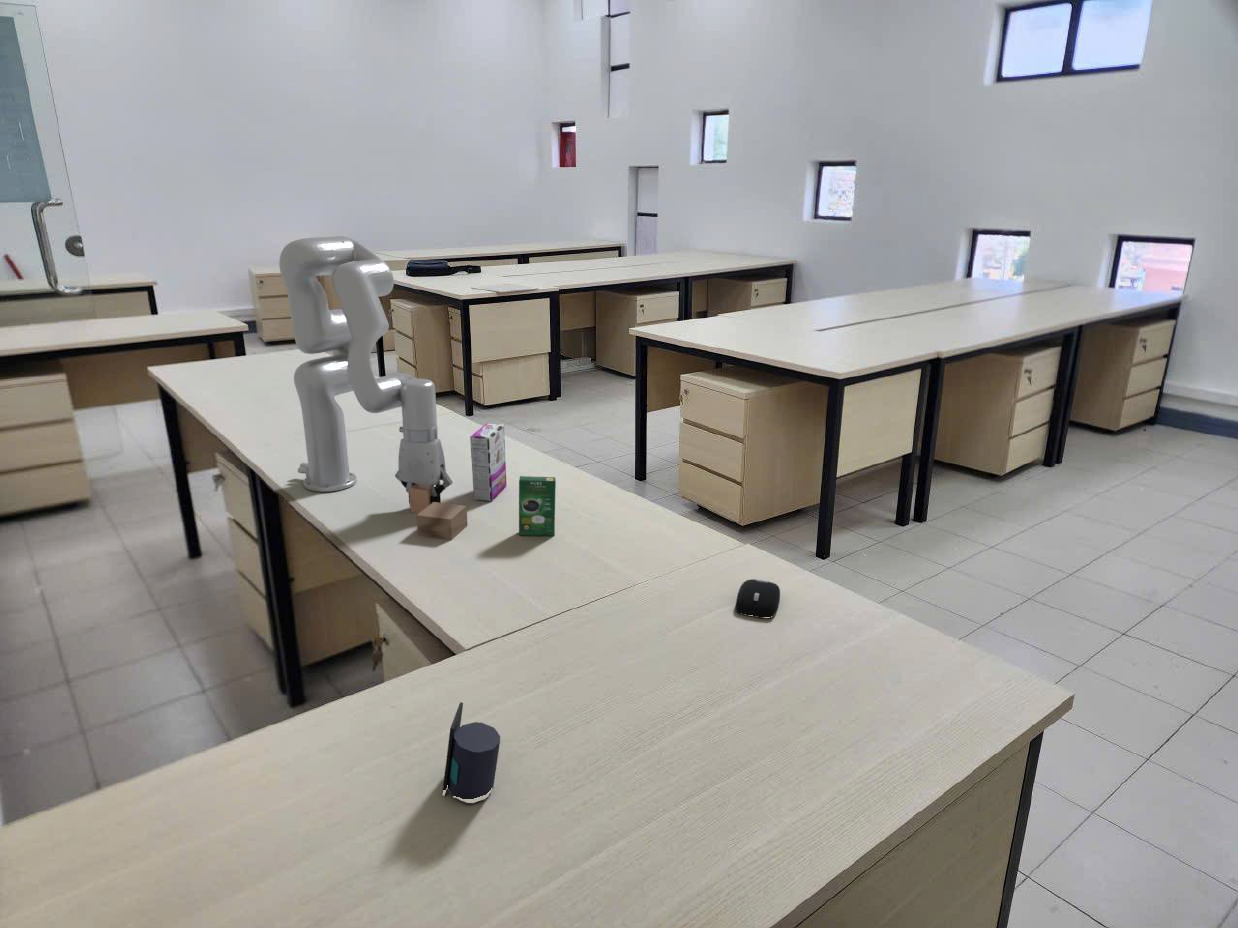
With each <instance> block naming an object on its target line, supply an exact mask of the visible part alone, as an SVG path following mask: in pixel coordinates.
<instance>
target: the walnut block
mask: <svg viewBox="0 0 1238 928" xmlns="http://www.w3.org/2000/svg"><path fill="white" fill-rule="evenodd" d="M416 524H417V525H416V526H417V527H416V528H417V536H419V537H426V538H434V539H440V540H442V539H443V540H447V541H448V540H450V541H453V540H454V539H455V538H456V537H457V536H458V535H460V533H462V531H464V530H465V529H466V528H467V527H468V507H467V505H461V504H455V503H454V504H452V503H445V502H441V503H438V502H433V503H432V504H430V505H429V506H428V507H426V508H425V509H424V510H423V511H421V512H420V513H416Z"/></svg>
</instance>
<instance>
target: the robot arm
mask: <svg viewBox="0 0 1238 928" xmlns="http://www.w3.org/2000/svg"><path fill="white" fill-rule="evenodd" d="M278 263H279V272H280V276H281V278H282V282H283V284H284V287H285V290H286V293H287V297H288V303H289V313H290V319H291V325H292V330H293V336H294V341H295V344H296V346H297V348H298V349H299V351H300V352H302V353H304V354H308V355H313V354H320V353H327V352H328V353H329V352H331V351H332V355H330V356H325V357H319V358H315V359H314V358H313V359H310V360H307V361H305V362H303V363H301V364H300V365H299V366H297V368H296V369H295V372H294V373H293V382H294V387H295V389H296V393H297V395H298V396H297V397H298V399H299V403H300V408H301V412H302V413H301V414H302V423H303V431H304V438H305V440H304V441H305V448H306V449H305V450H306V458H307V459H306V460H307V462H301V463H300V464H299V467H298V468H297V473H298V474H305V478H304V480H303V487H304V488H305V489H307V490H309V491H312V492H320V493H321V492H322V493H325V492H328V493H329V492H336V491H342V490H345V489H348V488H350V487H352V486H354V485H355V484H356V483H357V482H358V481H357V476H356V474H354V473H353V472H350V466H349V463H350V462H349V456H348V455H349V453H348V442H347V441H348V440H347V433H346V422H345V415H344V412H343V409H342V407H341V405H339V403H338V402H337V400H336V399H335V397H337V396H340V395H342V394H347V393H351V392H353V394H354V395H355V398H356V399H357V402H358V404H359V405H360V406H361V408H362V409H363V410H365V411H366V412H368V413H371V414H379V413H384V412H386V411H390V410H393V409H398V408H401V415H402V416H401V417H402V426H399V428H398V431H399V433H402V435H403V437H402V438H401V439H400V442H399V447H398V448H399V449H398V462H397V463H398V470H397V471H396V473H395V474H394V477H395V478H396V480H398V482H400V483H401V485H402V487H404V488H405V491H406V493H408V502H409V504H410V493H409V488H410V487H411V486H413V485H415V484H422V485H429V486H430V490H431V493H432V496H430V504H432V503H433V502H438V503H442V501H441V499H442V498H441V494H442V493H443V492H444V490H446V489H447V488H448V487H449V486H451V485H453V480H452V479H451V477H450V475H448V473H447V469H446V468H447V467H446V461H445V453H444V449H443V445H442V441H441V439H439V434H438V430H439V429H438V417H437V416H438V415H437V401H436V400H437V398H436V397H437V396H436V386H435V383H434V382H433V381H432V380H430V379H427V378H417V377H415V376H413V375H411V374H409V373H406V372H396V373H392V374H388V375H384V376H379V377H375V374H374V372H373V368H372V363H371V362H372V361H371V355H372V351H373V348H374V346H375V344H376V343H377V342H378V341H379V339H380V338H381V337H383V336H384V335H385V334H386V333H387V332H388V330H389V327H390V325H389V322H388V319H387V316H386V314H385V310H384V307H383V305H382V303H381V300H380V298H379V297H385V296H387V295H389V294H391V292H392V291H393V289H394V285H395V282H394V281H395V280H394V276H393V272H392V270H391V268H390V267H389V266H388V264H387V263H386V262H385V260H383V259H381V258H380V257H379V256H378V255H376V254H375V253H374V252H373V251H371V250H370V249H368V248H367V247H365V246H364V245H362V244H361V243H359V242H358V241H357V240H355V239H353V238H351V237H348V236H339V235H338V236H324V237H323V236H321V237H319V236H318V237H306V238H300V239H295V240H292V241H290V242H289V243H287V244H286V245H285V246H284V247H283V249H282V250H281V253H280V255H279V262H278ZM321 276H331V284H332V286H333V287H332V288H333V289H334V292H335V294H336V295H335V296H336V297H337V301H338V303H339V306H340V308H341V309H339V308H338V309H336V308H335V309H329V303H328V295H327V293H326V290H325V288H324V287H323V285H322V284H321V282H320V280H319V279H317V278H316V277H321ZM441 481H442V484H441ZM435 486H436V487H435ZM409 509H410V510H411V508H410V507H409Z"/></svg>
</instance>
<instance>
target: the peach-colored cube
mask: <svg viewBox="0 0 1238 928" xmlns="http://www.w3.org/2000/svg"><path fill="white" fill-rule="evenodd" d="M435 487H436V486H435ZM409 493H410V503H409V509H410V508H411V509H410V512H411V513H416V514H419V513H420V512H421V511H423V510H424V509H425V508H426V507H428V506H429V505H430V496H432V493H431V490H430V486H429V485H422V484H415V485H413V486H411V487H410V488H409ZM409 493H408V494H409Z"/></svg>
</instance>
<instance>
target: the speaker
mask: <svg viewBox="0 0 1238 928" xmlns="http://www.w3.org/2000/svg"><path fill="white" fill-rule="evenodd" d="M463 706H464V702H459V704H458V707H457V709H456V712H455V715H454V717H453V721H452V722H451V726H450V728H449V735H448V743H447V744H448V745H447V752H446V758H445V759H446V760H445V768H444V777H443V784H442V791H443V790H446V788H447V785H448V789H449V790H448V789H447V790H448V792H449V791H450V792H451V793H450V792H449V793H450V795H451V794H452V795H451V797H452V796H456V797H460V798H462V799H474V798H477V797H480V796H483V795H486V794H487V793H488V792H489V791H490V790H491V788H492V787H493V788H494V785H495V778H496V777H495V776H496V772H497V764H498V759H499V752H500V744H501V735H500V733H499V732H498V730H496V728H495V727H494V726H491V725H489V724H486V723H484V722H480V721H479V722H478V721H477V722H476V721H474V722H469V723H466V724H461V722H462V715H463Z"/></svg>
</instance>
